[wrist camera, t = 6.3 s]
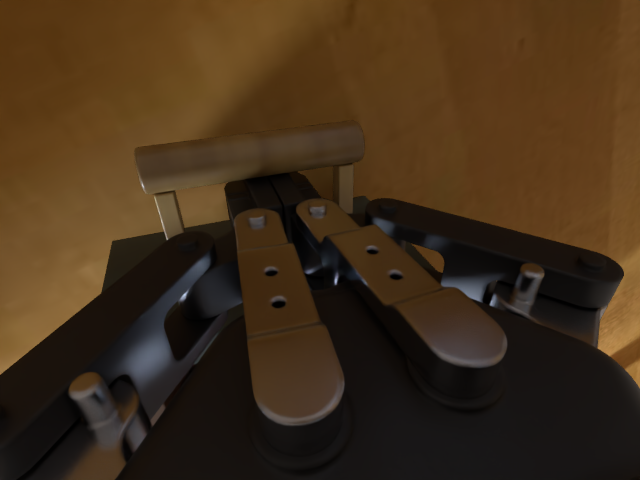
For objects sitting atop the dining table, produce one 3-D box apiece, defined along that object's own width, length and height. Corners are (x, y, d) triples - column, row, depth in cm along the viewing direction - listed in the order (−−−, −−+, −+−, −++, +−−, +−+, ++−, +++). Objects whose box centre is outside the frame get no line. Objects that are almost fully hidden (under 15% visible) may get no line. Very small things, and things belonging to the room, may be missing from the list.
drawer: (62, 113, 14) (-9, 200, 9) (370, 83, 18) (472, 130, 12) (188, 438, 27) (195, 565, 21) (356, 386, 30) (402, 483, 24)
